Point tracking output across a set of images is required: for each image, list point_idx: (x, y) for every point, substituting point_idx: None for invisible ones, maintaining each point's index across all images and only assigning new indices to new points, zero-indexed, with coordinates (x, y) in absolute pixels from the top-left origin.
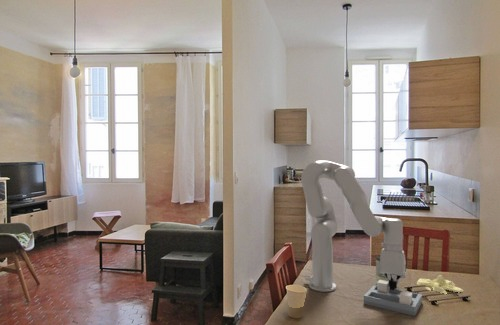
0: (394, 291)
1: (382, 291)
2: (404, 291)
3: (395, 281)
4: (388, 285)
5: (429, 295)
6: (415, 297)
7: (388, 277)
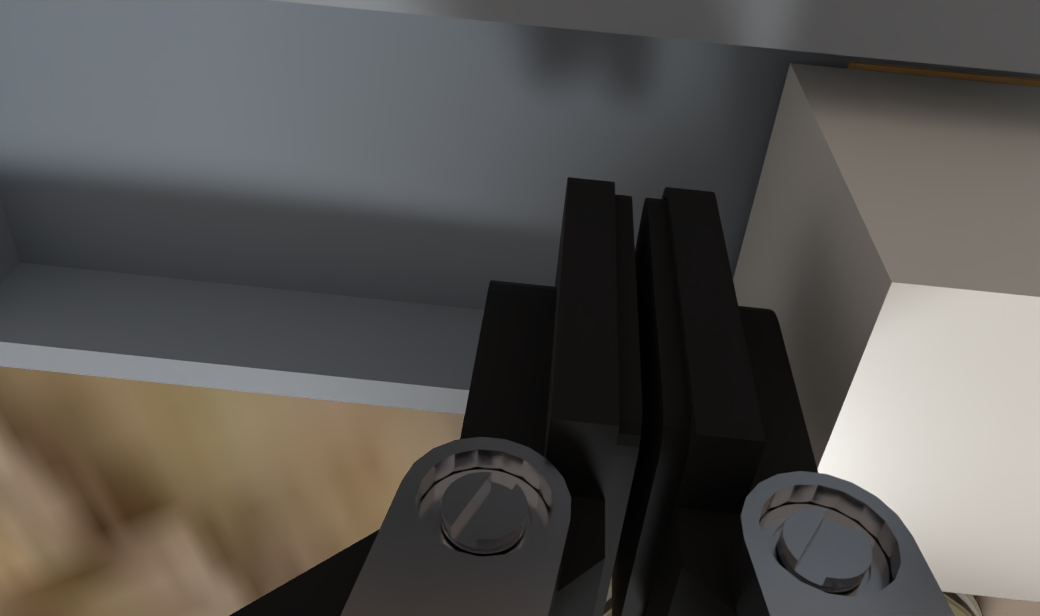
0: None
1: (979, 59)
2: (309, 371)
3: (474, 468)
4: None
5: (61, 567)
6: (70, 280)
7: (891, 612)
